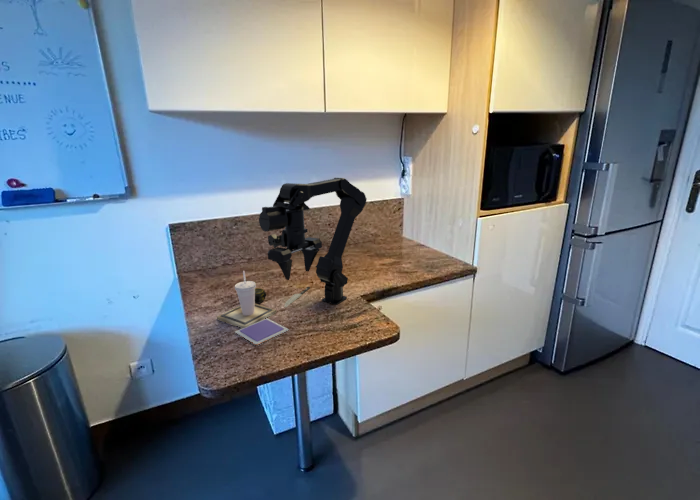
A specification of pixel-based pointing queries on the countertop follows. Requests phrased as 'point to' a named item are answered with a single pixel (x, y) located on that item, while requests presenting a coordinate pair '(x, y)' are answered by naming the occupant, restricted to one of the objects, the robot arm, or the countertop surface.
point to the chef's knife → (295, 297)
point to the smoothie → (246, 296)
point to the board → (246, 316)
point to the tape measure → (259, 295)
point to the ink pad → (261, 331)
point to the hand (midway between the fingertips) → (297, 275)
